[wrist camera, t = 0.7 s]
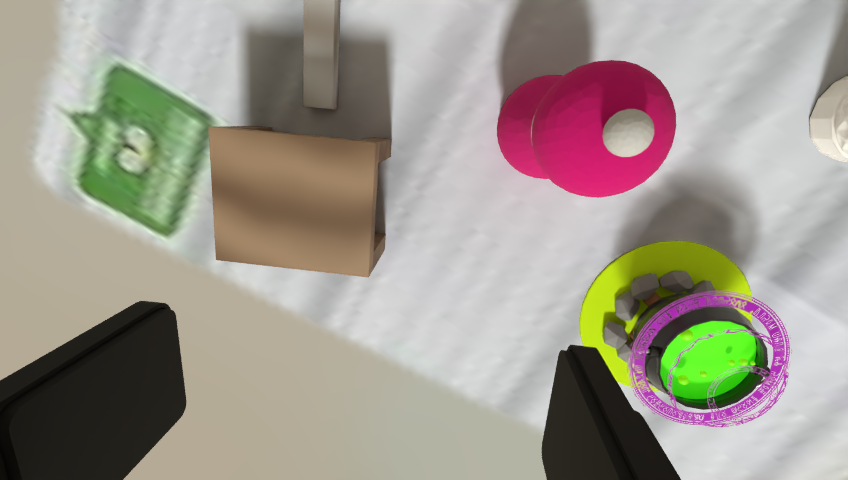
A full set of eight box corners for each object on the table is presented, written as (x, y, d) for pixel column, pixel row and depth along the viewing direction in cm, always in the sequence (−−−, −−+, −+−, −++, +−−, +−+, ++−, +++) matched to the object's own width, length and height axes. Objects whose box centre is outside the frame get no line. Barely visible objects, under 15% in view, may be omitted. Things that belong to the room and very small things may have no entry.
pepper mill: (479, 104, 34) (506, 79, 15) (565, 65, 32) (717, -18, 13) (510, 185, 35) (571, 258, 16) (593, 151, 34) (766, 186, 15)
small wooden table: (255, 126, 36) (208, 126, 29) (391, 139, 35) (375, 142, 28) (258, 236, 39) (216, 259, 32) (384, 250, 38) (368, 277, 31)
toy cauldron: (561, 373, 40) (597, 462, 30) (604, 226, 36) (664, 269, 25) (716, 401, 40) (809, 503, 29) (778, 256, 35) (914, 313, 25)
